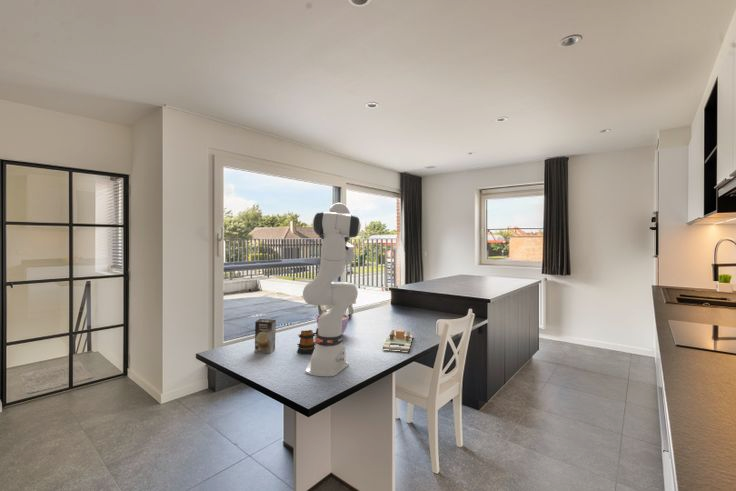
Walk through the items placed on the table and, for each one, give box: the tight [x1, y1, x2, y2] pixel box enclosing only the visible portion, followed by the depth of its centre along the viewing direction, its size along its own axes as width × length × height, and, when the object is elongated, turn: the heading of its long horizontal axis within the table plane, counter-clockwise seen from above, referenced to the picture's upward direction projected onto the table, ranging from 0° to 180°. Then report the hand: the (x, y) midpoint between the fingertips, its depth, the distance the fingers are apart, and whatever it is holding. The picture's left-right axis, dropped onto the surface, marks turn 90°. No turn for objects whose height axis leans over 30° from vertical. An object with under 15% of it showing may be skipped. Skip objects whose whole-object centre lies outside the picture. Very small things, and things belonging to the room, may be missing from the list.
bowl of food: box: [315, 313, 350, 335], centre depth 207 cm, size 20×20×12 cm
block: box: [395, 328, 405, 339], centre depth 199 cm, size 4×4×4 cm
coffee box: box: [254, 318, 277, 354], centre depth 177 cm, size 9×6×16 cm
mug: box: [296, 327, 318, 356], centre depth 178 cm, size 13×10×12 cm
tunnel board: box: [382, 329, 414, 352], centre depth 193 cm, size 28×14×5 cm, turn 168°
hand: (336, 265), depth 209 cm, fingers open, 8 cm apart
